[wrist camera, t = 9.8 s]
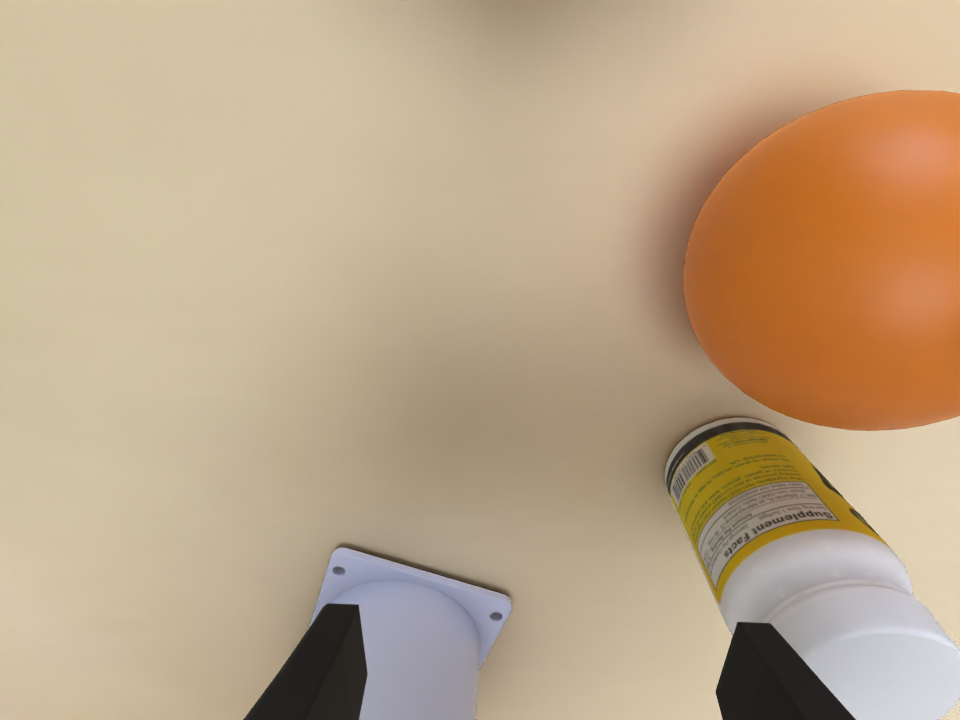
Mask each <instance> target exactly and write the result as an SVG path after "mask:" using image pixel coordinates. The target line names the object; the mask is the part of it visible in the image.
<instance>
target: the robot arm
mask: <svg viewBox="0 0 960 720" xmlns="http://www.w3.org/2000/svg"><path fill="white" fill-rule="evenodd" d="M337 566H338V567H337ZM339 567H342V568H339ZM511 610H512V601H511V599H510V598H509V597H508V596H506V595H504V594H501V593H498V592H494V591H491V590H488V589H484V588H481V587H477V586H474V585H471V584H467V583H464V582H460V581H457V580H454V579H450V578H447V577H443V576H440V575H437V574H433V573H430V572H426V571H423V570H420V569H416V568H413V567H410V566H406V565H403V564H399V563H396V562H393V561H389V560H386V559H382V558H379V557H376V556H372V555H369V554H365V553H362V552H359V551H355V550H352V549H348V548H343V547H342V548H337V549H336V550H334V552H333V553H332V556H331V558H330V562H329V565H328V568H327V571H326V574H325V578H324V581H323V584H322V587H321V591H320V594H319V597H318V600H317V603H316V607H315V610H314V613H313V616H312V619H311V623H310V626H309V629H308V631H307V632H306V634H305V635H304V637H303V638H302V640H301V641H300V643H299V644H298V645H297V647H296V648H295V650H294V651H293V653H292V654H291V656H290V657H289V658H288V660H287V661H286V663H285V664H284V665H283V667H282V668H281V670H280V671H279V673H278V674H277V675H276V677H275V678H274V679H273V681H272V682H271V683H270V685H269V686H268V688H267V689H266V690H265V692H264V693H263V694H262V696H261V697H260V698H259V700H258V701H257V702H256V704H255V705H254V706H253V708H252V709H251V710H250V712H249V713H248V714H247V716H246V717H245V718H244V720H476V709H477V688H478V671H479V669H480V668H481V666H482V664H483V662H484V660H485V658H486V657H487V655H488V653H489V651H490V649H491V647H492V646H493V644H494V642H495V640H496V638H497V636H498V635H499V633H500V631H501V629H502V627H503V626H504V624H505V622H506V620H507V618H508V616H509V615H510V613H511ZM495 612H497V613H495ZM716 695H717V699H718V703H719V707H720V711H721V714H722V718H723V720H856V719H855V718H854V717H853V716H852V714H851V713H850V712H849V711H848V710H847V709H846V708H845V707H844V706H843V705H842V703H841V702H840V701H839V700H838V699H837V698H836V697H835V696H834V694H833V693H832V692H831V691H830V690H829V689H828V688H827V686H826V685H825V684H824V683H823V682H822V681H821V680H820V679H819V677H818V676H817V675H816V674H815V673H814V672H813V671H812V670H811V668H810V667H809V666H808V665H807V664H806V663H805V662H804V660H803V659H802V658H801V657H800V656H799V655H798V654H797V652H796V651H795V650H794V649H793V648H792V647H791V646H790V644H789V643H788V642H787V641H786V640H785V639H784V638H783V637H782V635H781V634H780V633H779V632H778V631H777V630H776V629H775V628H774V626H773V625H772V624H771V623H755V622H737V625H736V628H735V631H734V634H733V637H732V641H731V644H730V647H729V650H728V653H727V657H726V660H725V663H724V666H723V669H722V673H721V676H720V679H719V682H718V685H717V689H716Z"/></svg>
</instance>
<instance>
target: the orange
mask: <svg viewBox="0 0 960 720" xmlns="http://www.w3.org/2000/svg"><path fill="white" fill-rule="evenodd" d="M683 286H684V297H685V303H686V307H687V311H688V315H689V319H690V322H691V325H692V327H693V330H694V332H695V335H696V337H697V339H698V341H699V343H700V344H701V346H702V348H703V349H704V351H705V352H706V354H707V355H708V357H709V358H710V360H711V361H712V363H713V364H714V365H715V366H716V367H717V368H718V369H719V371H720V372H721V373H722V374H723V375H724V376H725V377H726V378H727V379H728V380H730V381H731V382H732V383H733V384H734V385H735V386H737V387H738V388H739V389H740V390H741V391H743V392H744V393H745V394H747V395H748V396H750V397H752V398H753V399H755V400H756V401H758V402H760V403H762V404H763V405H765V406H767V407H769V408H770V409H773V410H775V411H777V412H780V413H782V414H784V415H786V416H789V417H792V418H795V419H798V420H801V421H805V422H808V423H812V424H816V425H820V426H827V427H833V428H840V429H847V430H862V431H877V430H895V429H907V428H912V427H918V426H924V425H928V424H932V423H936V422H940V421H943V420H947V419H951V418H954V417H958V416H960V94H958V93H952V92H946V91H908V90H899V91H891V92H884V93H876V94H870V95H865V96H860V97H856V98H852V99H849V100H845V101H841V102H837V103H834V104H831V105H829V106H826V107H824V108H821V109H819V110H816V111H813V112H811V113H809V114H807V115H804V116H802V117H800V118H798V119H796V120H794V121H793V122H791V123H789V124H787V125H785V126H783V127H781V128H779V129H778V130H777V131H775V132H774V133H772V134H771V135H769V136H768V137H766V138H765V139H763V140H762V141H760V142H759V143H758V144H757V145H756V146H754V147H753V148H752V149H751V150H750V151H749V152H747V153H746V154H745V155H744V156H743V157H742V158H741V159H739V160H738V161H737V162H736V163H735V165H734V166H733V167H732V168H731V169H730V170H729V171H728V172H727V173H726V174H725V175H724V176H723V178H722V179H721V180H720V182H719V183H718V184H717V185H716V187H715V188H714V189H713V191H712V192H711V194H710V195H709V197H708V199H707V200H706V202H705V204H704V205H703V207H702V209H701V211H700V213H699V215H698V217H697V220H696V222H695V224H694V226H693V229H692V232H691V235H690V239H689V242H688V245H687V251H686V256H685V262H684V279H683Z"/></svg>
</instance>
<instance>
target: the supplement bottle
mask: <svg viewBox="0 0 960 720" xmlns="http://www.w3.org/2000/svg"><path fill="white" fill-rule="evenodd" d="M665 487H666V491H667V494H668V497H669V499H670V501H671V503H672V505H673V507H674V509H675V512H676V514H677V516H678V518H679V520H680V523H681V525H682V527H683V529H684V531H685V534H686V536H687V538H688V540H689V542H690V545H691V547H692V549H693V551H694V553H695V556H696V558H697V560H698V562H699V564H700V567H701V569H702V571H703V573H704V575H705V578H706V580H707V582H708V584H709V587H710V589H711V591H712V593H713V596H714V598H715V600H716V602H717V605H718V607H719V609H720V612H721V614H722V616H723V618H724V620H725V622H726V624H727V626H728V628H729V630H730V632H731V634H732V635H733V634H734V631H735V628H736V625H737V622H755V623H771V624H772V625H773V626H774V628H775V629H776V630H777V631H778V632H779V633H780V634H781V635H782V637H783V638H784V639H785V640H786V641H787V642H788V643H789V644H790V646H791V647H792V648H793V649H794V650H795V651H796V652H797V654H798V655H799V656H800V657H801V658H802V659H803V660H804V662H805V663H806V664H807V665H808V666H809V667H810V668H811V670H812V671H813V672H814V673H815V674H816V675H817V676H818V677H819V679H820V680H821V681H822V682H823V683H824V684H825V685H826V686H827V688H828V689H829V690H830V691H831V692H832V693H833V694H834V696H835V697H836V698H837V699H838V700H839V701H840V702H841V703H842V705H843V706H844V707H845V708H846V709H847V710H848V711H849V712H850V713H851V714H852V716H853V717H854V718H855V719H856V720H939V719H940V718H941V717H943V716H944V715H946V714H947V713H948V712H949V711H950V710H951V709H953V708H954V707H955V705H956V704H957V703H958V702H959V700H960V649H959V648H958V647H957V645H956V644H955V643H954V642H953V641H952V639H951V638H950V637H949V636H948V635H947V634H946V632H945V631H944V630H943V629H942V627H941V626H940V625H939V623H938V622H937V621H936V620H935V618H934V617H933V615H932V613H931V612H930V611H929V610H928V609H927V608H926V607H925V606H924V605H923V604H922V603H921V602H920V601H918V600H917V599H916V598H915V597H914V596H913V588H912V583H911V580H910V577H909V574H908V572H907V570H906V568H905V566H904V564H903V563H902V561H901V560H900V559H899V557H898V556H897V555H896V554H895V553H894V551H893V550H892V549H891V548H890V547H889V546H888V545H887V544H886V543H885V542H884V540H882V539H881V537H880V536H879V535H878V534H877V533H876V532H875V531H874V530H873V529H872V527H871V526H870V525H869V524H868V523H867V522H866V521H865V520H864V518H863V517H862V516H861V515H860V514H859V513H858V512H856V510H855V509H854V508H853V507H852V506H851V505H850V504H849V503H848V502H847V501H846V500H845V499H844V498H843V496H842V495H841V494H840V493H839V492H838V491H837V490H836V489H835V488H834V487H833V486H832V485H831V484H830V482H829V481H828V480H827V479H826V478H825V477H824V476H823V475H822V474H821V473H820V472H819V471H818V470H817V469H816V468H815V466H814V465H813V464H812V463H811V462H810V461H809V460H808V459H807V458H806V457H805V456H804V454H803V453H802V452H801V451H800V450H799V449H798V448H797V447H796V446H795V445H794V444H793V443H792V442H791V440H790V439H789V438H788V437H787V436H786V435H785V434H783V433H782V432H781V431H780V430H779V429H777V428H776V427H774V426H772V425H770V424H768V423H766V422H763V421H760V420H756V419H751V418H727V419H722V420H718V421H715V422H712V423H709V424H706V425H704V426H702V427H700V428H698V429H696V430H695V431H693V432H692V433H690V434H689V435H687V436H686V437H685V438H684V439H683V440H682V441H681V442H679V444H678V445H677V446H676V447H675V449H674V450H673V452H672V453H671V455H670V457H669V459H668V462H667V464H666V469H665Z"/></svg>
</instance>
